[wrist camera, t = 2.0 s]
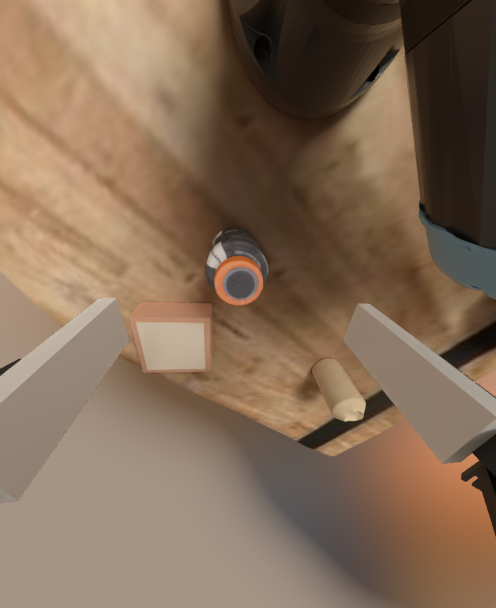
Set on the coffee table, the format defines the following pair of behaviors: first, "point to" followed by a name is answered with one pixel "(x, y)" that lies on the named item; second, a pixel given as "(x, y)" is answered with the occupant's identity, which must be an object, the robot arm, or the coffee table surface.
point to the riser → (173, 336)
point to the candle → (338, 390)
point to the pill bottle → (236, 266)
